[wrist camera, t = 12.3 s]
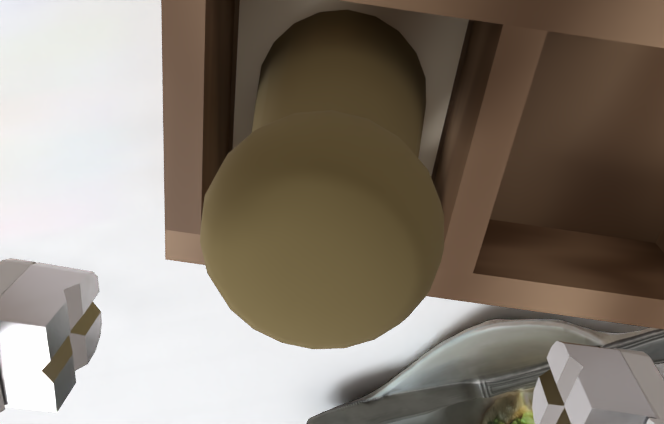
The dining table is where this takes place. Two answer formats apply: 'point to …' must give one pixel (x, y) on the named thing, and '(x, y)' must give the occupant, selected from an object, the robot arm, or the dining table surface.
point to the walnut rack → (472, 138)
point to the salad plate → (481, 375)
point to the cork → (328, 189)
